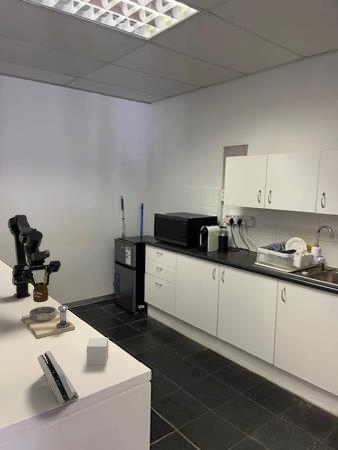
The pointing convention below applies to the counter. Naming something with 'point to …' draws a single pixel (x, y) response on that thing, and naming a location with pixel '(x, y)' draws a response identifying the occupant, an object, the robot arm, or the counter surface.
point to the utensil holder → (40, 291)
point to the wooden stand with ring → (48, 321)
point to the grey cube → (97, 351)
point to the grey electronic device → (56, 377)
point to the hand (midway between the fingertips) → (41, 285)
